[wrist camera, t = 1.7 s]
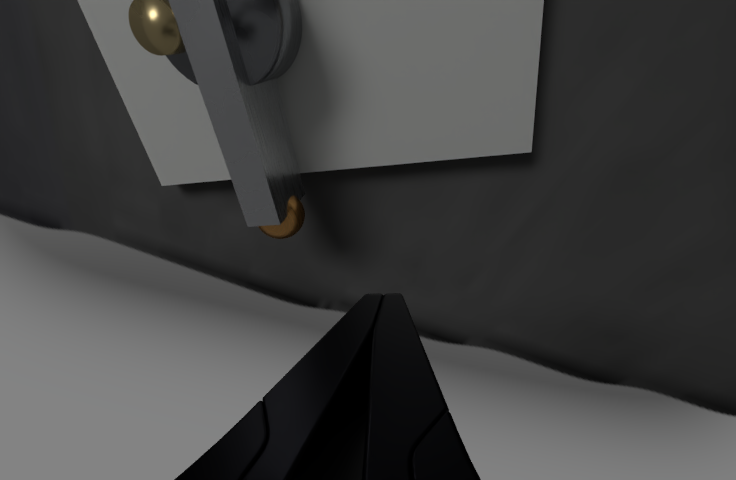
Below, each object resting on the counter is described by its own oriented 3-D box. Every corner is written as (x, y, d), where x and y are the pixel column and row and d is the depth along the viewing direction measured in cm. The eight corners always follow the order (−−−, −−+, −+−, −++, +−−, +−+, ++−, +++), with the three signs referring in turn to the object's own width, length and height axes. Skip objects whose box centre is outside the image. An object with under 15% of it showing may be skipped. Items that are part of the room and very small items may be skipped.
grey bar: (238, -299, 11) (154, -441, 8) (341, 215, 19) (323, 252, 16) (102, -243, 12) (-22, -346, 9) (256, 221, 20) (223, 256, 17)
